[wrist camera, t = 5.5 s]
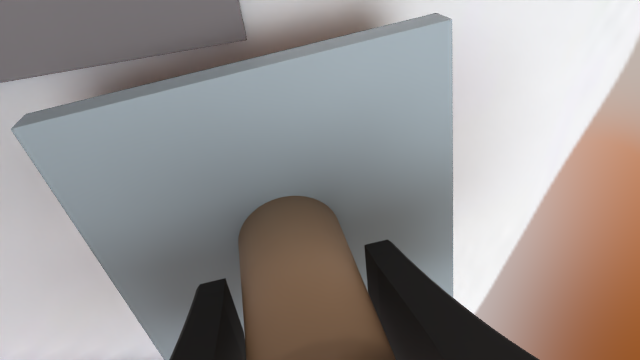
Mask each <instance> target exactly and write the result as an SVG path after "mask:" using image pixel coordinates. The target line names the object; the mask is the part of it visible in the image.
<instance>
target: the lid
mask: <svg viewBox="0 0 640 360" xmlns="http://www.w3.org/2000/svg"><path fill="white" fill-rule="evenodd" d="M11 130H12V132H13V133H14V135H15V136H16V138H17V139H18V141H19V142H20V144H21V145H22V147H23V148H24V150H25V151H26V153H27V154H28V156H29V157H30V159H31V160H32V162H33V163H34V165H35V166H36V168H37V169H38V171H39V172H40V174H41V175H42V177H43V178H44V180H45V181H46V183H47V184H48V186H49V187H50V189H51V190H52V192H53V193H54V195H55V196H56V198H57V199H58V201H59V202H60V204H61V205H62V207H63V208H64V210H65V211H66V213H67V214H68V216H69V217H70V219H71V220H72V222H73V223H74V225H75V226H76V228H77V229H78V231H79V232H80V234H81V235H82V237H83V238H84V240H85V241H86V243H87V244H88V246H89V247H90V249H91V250H92V252H93V253H94V255H95V256H96V258H97V259H98V261H99V262H100V264H101V265H102V267H103V269H104V270H105V272H106V273H107V275H108V276H109V278H110V279H111V281H112V282H113V284H114V285H115V287H116V288H117V290H118V291H119V293H120V294H121V296H122V297H123V299H124V300H125V302H126V303H127V305H128V306H129V308H130V309H131V311H132V312H133V314H134V315H135V317H136V318H137V320H138V321H139V323H140V324H141V326H142V327H143V329H144V330H145V332H146V333H147V335H148V336H149V338H150V339H151V341H152V342H153V344H154V345H155V347H156V348H157V350H158V351H159V353H160V354H161V356H162V357H163V359H164V360H169V359H170V357H171V355H172V352H173V350H174V348H175V345H176V343H177V341H178V338H179V336H180V333H181V331H182V328H183V326H184V323H185V321H186V318H187V315H188V313H189V310H190V307H191V304H192V301H193V299H194V296H195V292H196V289H197V288H198V286H199V285H200V284H203V283H207V282H211V281H216V280H220V279H224V278H226V281H227V284H228V287H229V290H230V293H231V296H232V299H233V302H234V305H235V308H236V310H237V313H238V316H239V319H240V322H241V325H242V328H243V331H244V337H245V347H246V360H396V359H395V356H394V354H393V351H392V349H391V347H390V344H389V342H388V339H387V337H386V335H385V332H384V330H383V327H382V325H381V322H380V320H379V318H378V315H377V313H376V310H375V308H374V306H373V303H372V301H371V298H370V296H369V294H368V285H367V273H366V260H365V247H364V245H366V244H370V243H374V242H379V241H383V240H387V239H388V240H389V241H391V242H392V243H393V244H394V245H395V246H396V247H397V248H398V249H399V250H400V251H401V252H402V253H403V254H404V255H405V256H406V257H407V258H408V259H410V260H411V261H412V262H413V263H414V264H415V265H416V266H417V267H418V268H419V269H420V270H421V271H422V272H424V273H425V274H426V275H427V276H428V277H429V278H430V279H431V280H433V281H434V282H435V283H436V284H437V285H438V286H440V287H441V288H442V289H443V290H444V291H446V292H447V293H448V294H449V295H450V296H451V297H453V129H452V19H450V18H447V17H445V16H442V15H440V14H437V13H434V14H430V15H426V16H422V17H418V18H414V19H410V20H406V21H401V22H397V23H393V24H389V25H385V26H381V27H377V28H373V29H369V30H365V31H361V32H357V33H353V34H349V35H345V36H341V37H337V38H332V39H328V40H324V41H320V42H316V43H312V44H308V45H304V46H300V47H296V48H292V49H288V50H284V51H280V52H276V53H272V54H268V55H264V56H259V57H255V58H251V59H247V60H243V61H239V62H235V63H231V64H227V65H223V66H219V67H215V68H211V69H207V70H203V71H199V72H195V73H190V74H186V75H182V76H178V77H174V78H170V79H166V80H162V81H158V82H154V83H150V84H146V85H142V86H138V87H134V88H130V89H126V90H122V91H117V92H113V93H109V94H105V95H101V96H97V97H93V98H89V99H85V100H81V101H77V102H73V103H69V104H65V105H61V106H57V107H53V108H48V109H44V110H40V111H36V112H32V113H28V114H26V115H25V116H23V117H22V118H21V119H20V120H19V121H18V122H17V123H16V124H15V125H14V126H13V127H12V128H11Z"/></svg>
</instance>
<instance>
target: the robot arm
mask: <svg viewBox="0 0 640 360" xmlns="http://www.w3.org/2000/svg"><path fill="white" fill-rule="evenodd" d="M364 247H365V260H366V273H367V285H368V294H369V296H370V298H371V301H372V303H373V306H374V308H375V310H376V313H377V315H378V318H379V320H380V322H381V325H382V327H383V330H384V332H385V335H386V337H387V339H388V342H389V344H390V347H391V349H392V351H393V354H394V356H395V359H396V360H539V359H537V358H536V357H534V356H533V355H531V354H529V353H528V352H526V351H525V350H523V349H522V348H520V347H519V346H517V345H516V344H514V343H513V342H511V341H510V340H508V339H507V338H505V337H504V336H503V335H501V334H500V333H498V332H497V331H495V330H494V329H493V328H491V327H490V326H489V325H487V324H486V323H485V322H483V321H482V320H481V319H479V318H478V317H477V316H475V315H474V314H473V313H471V312H470V311H469V310H468V309H466V308H465V307H464V306H463V305H461V304H460V303H459V302H458V301H456V300H455V299H454V298H453V297H451V296H450V295H449V294H448V293H447V292H446V291H444V290H443V289H442V288H441V287H440V286H438V285H437V284H436V283H435V282H434V281H433V280H431V279H430V278H429V277H428V276H427V275H426V274H425V273H424V272H422V271H421V270H420V269H419V268H418V267H417V266H416V265H415V264H414V263H413V262H412V261H411V260H410V259H408V258H407V257H406V256H405V255H404V254H403V253H402V252H401V251H400V250H399V249H398V248H397V247H396V246H395V245H394V244H393V243H392V242H391V241H389V240H388V239H387V240H383V241H379V242H374V243H370V244H366V245H364ZM169 360H246V347H245V337H244V331H243V328H242V325H241V322H240V319H239V316H238V313H237V310H236V308H235V305H234V302H233V299H232V296H231V293H230V290H229V287H228V284H227V281H226V278H224V279H220V280H216V281H211V282H207V283H203V284H200V285H199V286H198V288H197V289H196V292H195V296H194V299H193V301H192V304H191V307H190V310H189V313H188V315H187V318H186V321H185V323H184V326H183V328H182V331H181V333H180V336H179V338H178V341H177V343H176V345H175V348H174V350H173V352H172V355H171V357H170V359H169Z"/></svg>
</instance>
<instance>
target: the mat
mask: <svg viewBox="0 0 640 360" xmlns="http://www.w3.org/2000/svg"><path fill="white" fill-rule="evenodd" d="M244 40H247V39H246V34H245V29H244V24H243V20H242V15H241V10H240V5H239V0H0V83H2V82H8V81H13V80H19V79H25V78H31V77H36V76H42V75H48V74H54V73H59V72H65V71H71V70H77V69H82V68H88V67H94V66H100V65H105V64H111V63H117V62H123V61H128V60H134V59H140V58H146V57H152V56H157V55H163V54H169V53H175V52H180V51H186V50H192V49H198V48H203V47H209V46H215V45H221V44H226V43H232V42H238V41H244Z"/></svg>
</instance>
